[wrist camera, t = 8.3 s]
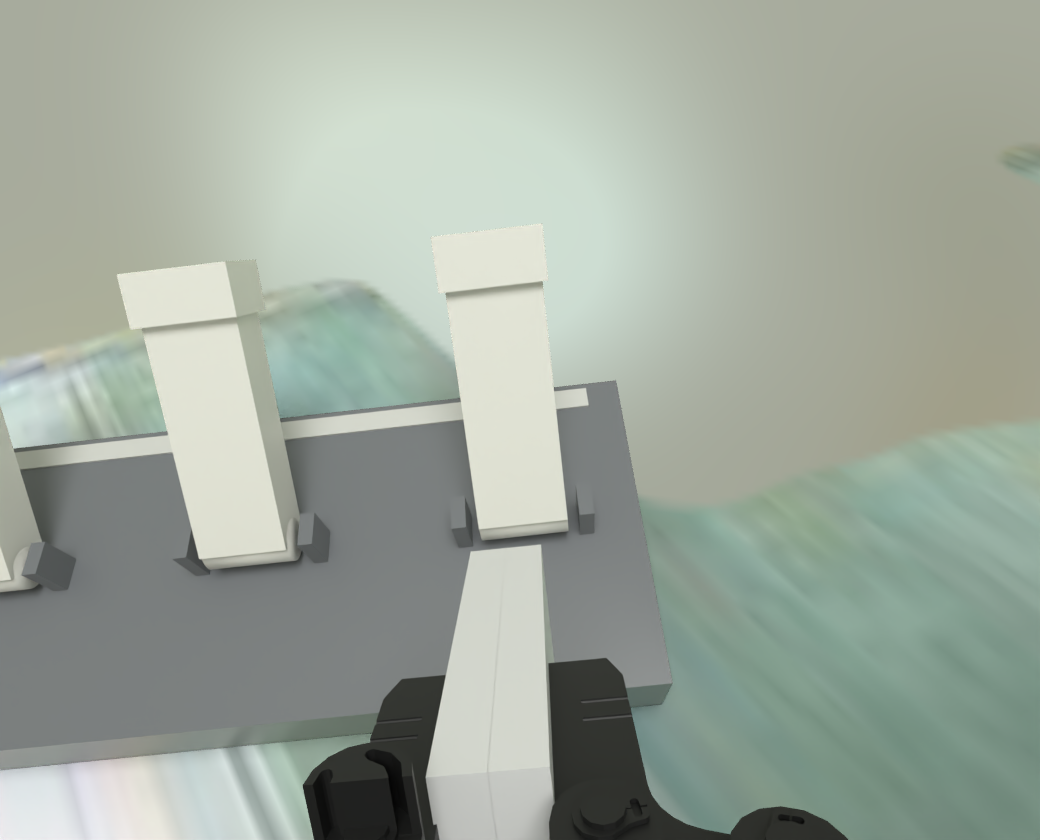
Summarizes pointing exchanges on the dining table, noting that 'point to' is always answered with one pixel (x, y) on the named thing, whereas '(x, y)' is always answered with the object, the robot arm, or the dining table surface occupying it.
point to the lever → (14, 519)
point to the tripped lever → (505, 377)
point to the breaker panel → (297, 586)
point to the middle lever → (219, 408)
